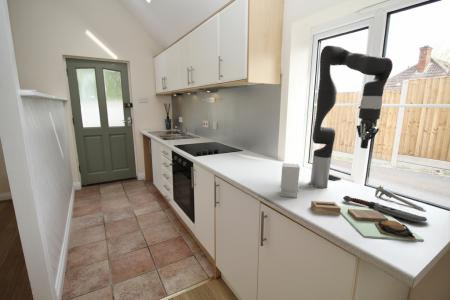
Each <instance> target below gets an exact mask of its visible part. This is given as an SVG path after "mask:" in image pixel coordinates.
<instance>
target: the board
mask: <svg viewBox="0 0 450 300" xmlns="http://www.w3.org/2000/svg"><path fill="white" fill-rule="evenodd" d="M347 213H348V214H350V215H351V216H352V217H353V218H354V219H355V220H356V221H367V222H381V221H387V220H388V218H386V217H385V216H384V215H382V214H381V213H380V212H378V211H374V210H357V209H348V212H347Z"/></svg>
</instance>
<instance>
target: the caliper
mask: <svg viewBox="0 0 450 300" xmlns="http://www.w3.org/2000/svg"><path fill="white" fill-rule="evenodd" d="M379 192H380V193H379ZM378 194H379V196H378ZM384 195H385V196H386V197H387V198H389V199H392V198H393V199H395V200H397V201H399V202H401V203H404V204H405V205H407V206H410V207H412V208H414V209H416V210H420V211H422V212H427V210H426V209H424V207H422V206H421V205H418V204H416V203H414V202H411V201H409V200H407V199H405V198H403V197H401V196H398V195H396V194H394V193H393V192H391V191H389V190H388V189H385V188H384V186H382V185H379V186H377V187H376V189H375V194H374V196H375V197H377V196H378V198H381V197H382V196H384Z"/></svg>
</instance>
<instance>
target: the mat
mask: <svg viewBox="0 0 450 300" xmlns="http://www.w3.org/2000/svg"><path fill="white" fill-rule="evenodd" d="M338 206H339V207H340V208H341V210H340V215H342V217H343V218H344V219H345V220H346V221H347V222H348V223H349V224H350V225H351V226H352V227H353V228H354V229H355V230H356V231H357V232H358V234H360V235H361V236H362V237H363V238H369V239H370V238H371V239H385V240H387V239H388V240H400V241H401V240H402V241H412V240H411V239H405V238H400V237H396V236H391V235H386V234H383V233H380V231H379V230H378V228H377V227H376V225H375V223H379V222H367V221H356V220H355V219H354V218H353V217H352V216H351V215H350V214H348V213H347V212H348V209H357V210H374V211H377V210H376V209H375V208H373V209H372V208H369V207H368V206H351V205H350V206H348V205H338ZM378 212H379V211H378ZM380 213H381V214H382V215H384V216H385V217H386V218H388V220H392V221H396V222H399V223H400V224H403V223H401V222H400V221H399V220H397V219H396V218H395V217H394V216H392V215H389V214H385V213H382V212H380ZM405 226H406V225H405ZM405 226H404V227H405ZM406 229H407V228H406ZM408 229H409V230H410V231H411V233H413V236H415V238H416V240H414V241H417V242H424V240H425V239H424V238H423V237H421V236H420V235H418V234H417V233H416V232H414V231H413V230H412V229H410V228H409V227H408Z"/></svg>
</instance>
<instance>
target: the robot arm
mask: <svg viewBox="0 0 450 300" xmlns="http://www.w3.org/2000/svg"><path fill="white" fill-rule="evenodd" d="M393 65H394V63H393V60H392V59H391V58H389V57H383V56H371V55H369V54H365V53H361V52H360V53H359V52H352V51H349V50H348V49H345V48H343V47H342V46H337V45H336V46H335V45H325V46H324V47H323V48H322V50H321V52H320V57H319V82H318V90H317V99H316V113H315V121H314V125H313V126H314V127H313V131H312V141H313V143H314V144H316V145H317V144H319V145H324V146H323V147H321V148H317V149H315V150H314V151H313V156H312V164H311V173H310V181H309V185H311V186H312V187H315V188H320V189H325V188H327V187H328V183H329V179H328V178H329V174H330V171H331V170H330V168H331V162H332V155H333V150H334V144H335V139H336V130H335V128H333V127H325V126H324V127H323V126H322V124H323V122H324V119H325V118H326V117H327V115H328V114H329V113H330V111H331V110H332V109H333V107H334V106H335V104H336V102H337V94H338V89H337V86H336V83H335V81H334V79H333V77H332V74H331V66H333V67H334V66H346V67H347V68H349V69H351V70H353V71H356V72H359V73H361V74H363V75H366V76H374V78H373V80H372V81H368V82H366V83H365V84H364V85H363V90H362V96H361V100H360V105H359V112H358V119H361V121H360V123H359V124H357V125H356V130H357V135H358V138H360V139H361V142H360V148H361V149H368V147H369V141H371V140H373V139H374V138H375V137H376V135H377V134H378V132H379V131H380V128H379V127H376V126H377V121H379V119H380V118H381V117H380V116H381V111H382V105H383V95H384V90H385V86H386V84H387V82H388V79H389V77H390V76H391V73H392V70H393V67H394V66H393Z"/></svg>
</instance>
